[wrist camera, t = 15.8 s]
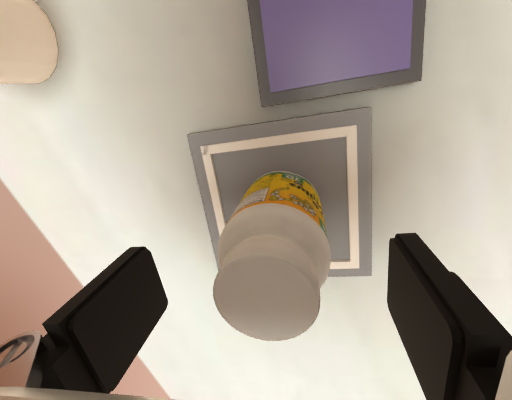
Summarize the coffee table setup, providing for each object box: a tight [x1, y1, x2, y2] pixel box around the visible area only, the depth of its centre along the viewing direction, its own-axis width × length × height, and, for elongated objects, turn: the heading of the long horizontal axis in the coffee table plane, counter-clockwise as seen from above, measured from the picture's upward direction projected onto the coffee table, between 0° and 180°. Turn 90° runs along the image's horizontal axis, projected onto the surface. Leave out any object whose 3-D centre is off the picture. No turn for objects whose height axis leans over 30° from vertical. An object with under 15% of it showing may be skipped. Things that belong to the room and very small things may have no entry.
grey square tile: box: [187, 107, 371, 277], centre depth 18 cm, size 12×12×1 cm
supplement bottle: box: [213, 171, 331, 341], centre depth 14 cm, size 5×5×10 cm
